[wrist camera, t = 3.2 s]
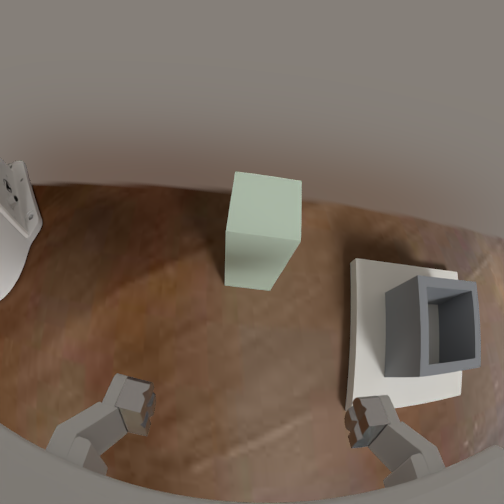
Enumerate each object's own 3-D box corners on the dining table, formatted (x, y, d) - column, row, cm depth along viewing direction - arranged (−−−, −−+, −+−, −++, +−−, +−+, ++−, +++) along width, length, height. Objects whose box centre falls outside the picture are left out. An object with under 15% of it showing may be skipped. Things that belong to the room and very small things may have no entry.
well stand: (452, 394, 25) (495, 393, 18) (345, 410, 24) (382, 422, 17) (450, 275, 31) (487, 255, 24) (350, 262, 30) (383, 233, 23)
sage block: (269, 290, 28) (300, 240, 17) (224, 285, 28) (225, 231, 17) (272, 249, 30) (301, 181, 19) (230, 243, 29) (235, 171, 18)
